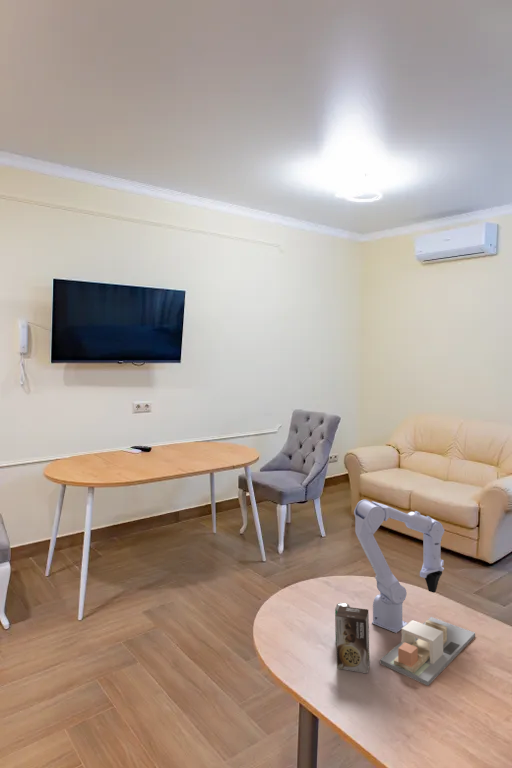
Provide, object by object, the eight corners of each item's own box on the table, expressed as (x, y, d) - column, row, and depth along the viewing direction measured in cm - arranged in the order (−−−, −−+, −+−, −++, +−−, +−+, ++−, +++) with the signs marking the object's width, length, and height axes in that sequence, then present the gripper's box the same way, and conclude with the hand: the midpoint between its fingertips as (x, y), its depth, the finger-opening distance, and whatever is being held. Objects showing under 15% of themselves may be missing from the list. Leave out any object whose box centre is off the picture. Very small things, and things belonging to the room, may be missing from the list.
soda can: (351, 647, 156) (350, 610, 156) (335, 646, 157) (334, 609, 157) (351, 638, 161) (351, 602, 161) (335, 637, 162) (335, 601, 162)
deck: (380, 663, 148) (380, 659, 148) (431, 620, 172) (431, 616, 172) (428, 685, 137) (428, 681, 137) (475, 636, 161) (475, 632, 161)
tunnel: (401, 650, 152) (401, 628, 152) (412, 641, 157) (412, 619, 157) (433, 664, 145) (432, 640, 145) (443, 654, 150) (443, 631, 150)
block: (398, 661, 144) (398, 647, 144) (405, 655, 147) (404, 642, 147) (411, 667, 142) (411, 653, 141) (417, 660, 144) (417, 647, 144)
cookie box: (370, 661, 149) (369, 609, 148) (367, 674, 143) (367, 619, 142) (339, 656, 152) (339, 604, 151) (336, 668, 146) (335, 615, 145)
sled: (393, 663, 145) (393, 648, 145) (427, 633, 161) (427, 619, 160) (414, 672, 140) (414, 657, 140) (447, 641, 156) (447, 626, 156)
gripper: (433, 562, 165) (433, 602, 165) (451, 550, 175) (452, 587, 176) (414, 556, 170) (414, 595, 170) (432, 545, 180) (433, 581, 181)
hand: (432, 591), depth 173 cm, fingers closed
